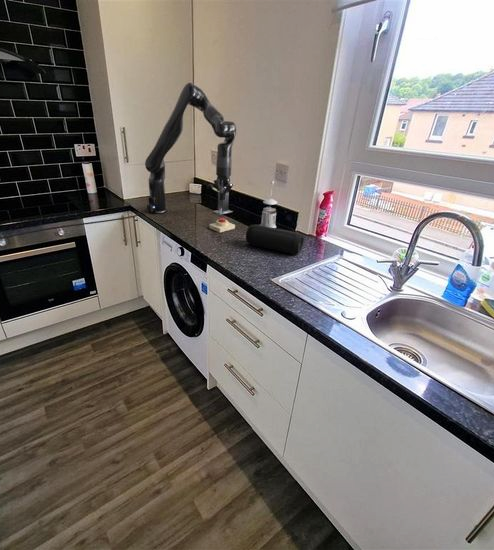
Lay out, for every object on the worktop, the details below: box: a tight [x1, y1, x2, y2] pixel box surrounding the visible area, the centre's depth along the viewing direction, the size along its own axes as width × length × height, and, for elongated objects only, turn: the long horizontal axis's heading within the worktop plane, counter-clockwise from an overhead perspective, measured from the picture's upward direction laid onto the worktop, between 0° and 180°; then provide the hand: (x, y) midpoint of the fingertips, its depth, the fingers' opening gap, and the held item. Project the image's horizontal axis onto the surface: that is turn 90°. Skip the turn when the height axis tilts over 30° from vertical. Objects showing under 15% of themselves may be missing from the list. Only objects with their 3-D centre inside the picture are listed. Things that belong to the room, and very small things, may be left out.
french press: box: [259, 180, 278, 228], centre depth 168 cm, size 10×12×25 cm
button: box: [218, 217, 227, 223], centre depth 167 cm, size 4×4×2 cm
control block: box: [208, 219, 236, 233], centre depth 168 cm, size 11×9×4 cm
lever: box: [207, 183, 220, 193], centre depth 184 cm, size 15×3×3 cm, turn 132°
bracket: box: [212, 191, 234, 215], centre depth 190 cm, size 10×8×14 cm
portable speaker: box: [245, 224, 305, 255], centre depth 143 cm, size 26×10×10 cm, turn 61°
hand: (222, 200), depth 161 cm, fingers closed
